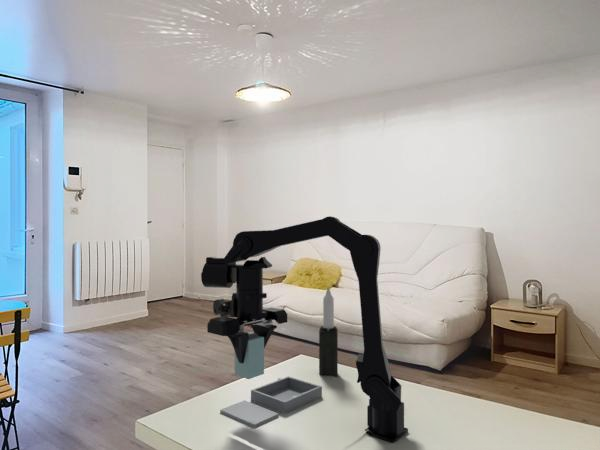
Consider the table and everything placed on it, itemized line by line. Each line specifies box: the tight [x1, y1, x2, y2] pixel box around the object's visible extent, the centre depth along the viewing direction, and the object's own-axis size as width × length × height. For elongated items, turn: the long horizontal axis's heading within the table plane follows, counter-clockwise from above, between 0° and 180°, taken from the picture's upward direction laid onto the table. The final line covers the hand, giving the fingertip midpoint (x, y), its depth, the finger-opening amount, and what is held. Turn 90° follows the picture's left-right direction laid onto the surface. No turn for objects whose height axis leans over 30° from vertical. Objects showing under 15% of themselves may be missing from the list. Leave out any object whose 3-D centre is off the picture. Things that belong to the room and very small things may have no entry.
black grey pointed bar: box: [318, 285, 339, 378], centre depth 120 cm, size 5×5×25 cm
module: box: [234, 331, 265, 380], centre depth 93 cm, size 4×4×9 cm
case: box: [250, 376, 323, 414], centre depth 102 cm, size 12×13×3 cm
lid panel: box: [219, 400, 279, 429], centre depth 92 cm, size 11×7×1 cm, turn 49°
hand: (249, 360), depth 93 cm, fingers closed on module, 4 cm apart
